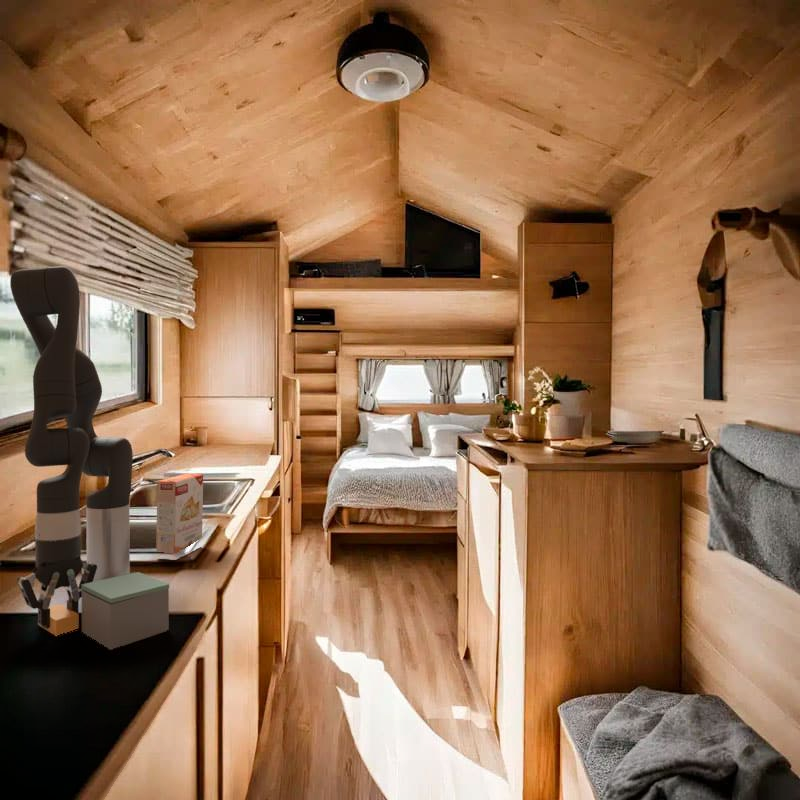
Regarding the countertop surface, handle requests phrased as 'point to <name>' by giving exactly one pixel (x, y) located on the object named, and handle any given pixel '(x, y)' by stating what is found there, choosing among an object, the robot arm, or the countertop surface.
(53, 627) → the orange rectangular block
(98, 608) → the storage box
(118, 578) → the lid
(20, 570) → the countertop surface
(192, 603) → the countertop surface
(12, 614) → the countertop surface
